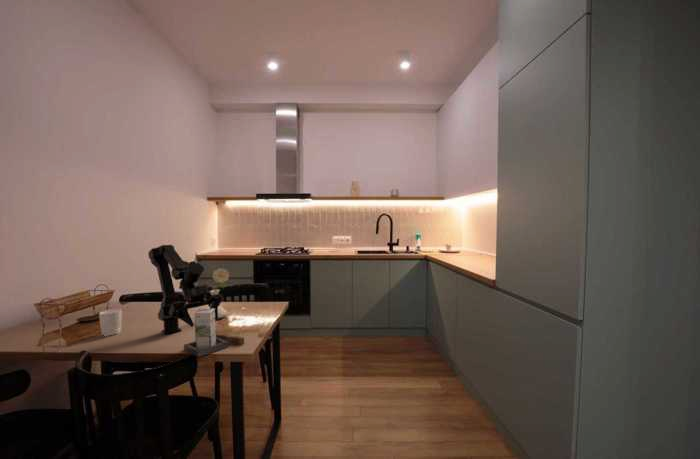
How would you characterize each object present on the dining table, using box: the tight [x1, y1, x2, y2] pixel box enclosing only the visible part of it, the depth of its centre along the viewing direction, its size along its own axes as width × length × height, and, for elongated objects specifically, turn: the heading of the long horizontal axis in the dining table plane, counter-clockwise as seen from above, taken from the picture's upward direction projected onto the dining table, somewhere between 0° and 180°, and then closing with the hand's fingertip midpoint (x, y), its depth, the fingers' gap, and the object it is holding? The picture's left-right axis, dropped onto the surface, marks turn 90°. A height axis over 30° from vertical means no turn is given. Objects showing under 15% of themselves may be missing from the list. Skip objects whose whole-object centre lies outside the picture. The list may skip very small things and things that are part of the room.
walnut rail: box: [216, 332, 245, 346], centre depth 122 cm, size 20×2×2 cm, turn 65°
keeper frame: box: [183, 337, 229, 358], centre depth 115 cm, size 11×11×2 cm
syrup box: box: [193, 308, 217, 350], centre depth 116 cm, size 6×6×14 cm
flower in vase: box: [208, 267, 230, 319], centre depth 155 cm, size 13×11×25 cm
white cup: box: [98, 308, 123, 337], centre depth 135 cm, size 8×8×10 cm
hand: (205, 322), depth 115 cm, fingers open, 9 cm apart
